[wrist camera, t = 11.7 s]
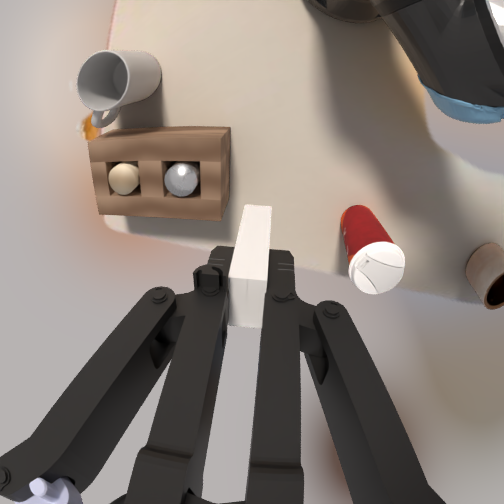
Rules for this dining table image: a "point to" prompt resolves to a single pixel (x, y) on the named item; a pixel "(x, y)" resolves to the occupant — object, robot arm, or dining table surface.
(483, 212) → the dining table surface
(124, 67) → the mug
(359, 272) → the coffee cup
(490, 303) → the planter
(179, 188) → the aluminium peg
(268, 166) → the dining table surface
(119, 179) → the beech peg
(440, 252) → the dining table surface
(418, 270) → the dining table surface
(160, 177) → the walnut socket block
